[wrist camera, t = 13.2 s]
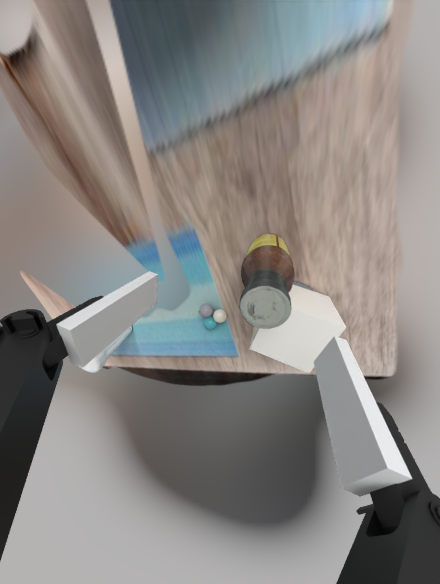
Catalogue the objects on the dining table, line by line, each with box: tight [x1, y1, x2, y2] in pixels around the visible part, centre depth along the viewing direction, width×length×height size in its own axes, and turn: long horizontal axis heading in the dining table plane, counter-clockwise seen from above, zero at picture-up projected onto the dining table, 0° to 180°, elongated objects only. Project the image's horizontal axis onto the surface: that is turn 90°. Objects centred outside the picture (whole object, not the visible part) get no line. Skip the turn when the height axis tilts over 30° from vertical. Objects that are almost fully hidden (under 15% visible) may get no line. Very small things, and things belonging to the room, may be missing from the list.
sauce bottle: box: [239, 234, 295, 329], centre depth 22 cm, size 7×6×20 cm
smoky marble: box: [199, 304, 213, 318], centre depth 39 cm, size 3×3×3 cm
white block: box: [250, 285, 346, 373], centre depth 30 cm, size 10×10×9 cm
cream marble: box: [213, 309, 227, 323], centre depth 38 cm, size 3×3×3 cm
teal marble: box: [204, 316, 217, 330], centre depth 40 cm, size 3×3×3 cm
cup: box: [77, 326, 132, 372], centre depth 46 cm, size 10×10×13 cm
